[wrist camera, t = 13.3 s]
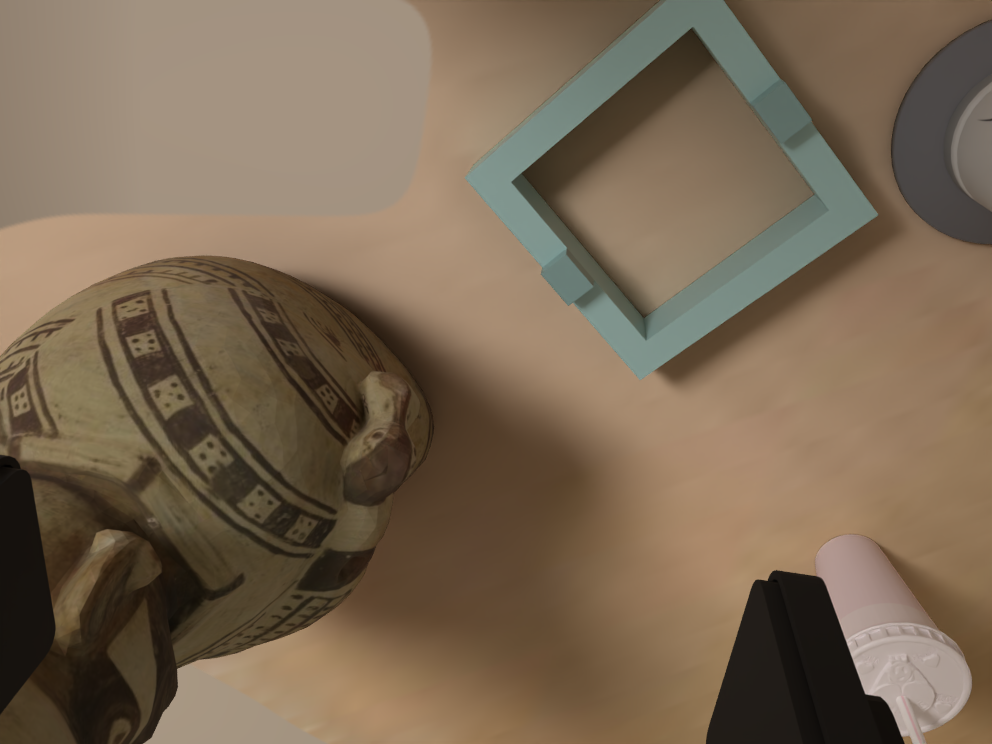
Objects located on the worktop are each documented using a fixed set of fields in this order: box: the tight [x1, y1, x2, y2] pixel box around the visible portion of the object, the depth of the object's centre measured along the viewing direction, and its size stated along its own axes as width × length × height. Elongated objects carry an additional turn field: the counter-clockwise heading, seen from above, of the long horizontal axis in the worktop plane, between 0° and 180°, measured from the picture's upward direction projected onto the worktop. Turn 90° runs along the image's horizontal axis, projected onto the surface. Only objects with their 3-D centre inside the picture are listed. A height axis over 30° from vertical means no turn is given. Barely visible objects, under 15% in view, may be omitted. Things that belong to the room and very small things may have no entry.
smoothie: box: [815, 534, 972, 744], centre depth 43 cm, size 6×6×14 cm
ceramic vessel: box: [0, 256, 434, 744], centre depth 35 cm, size 19×21×30 cm
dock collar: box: [465, 0, 878, 380], centre depth 39 cm, size 13×13×4 cm
